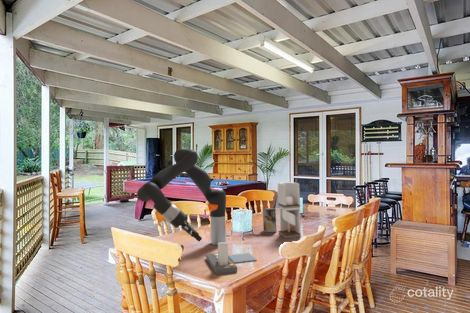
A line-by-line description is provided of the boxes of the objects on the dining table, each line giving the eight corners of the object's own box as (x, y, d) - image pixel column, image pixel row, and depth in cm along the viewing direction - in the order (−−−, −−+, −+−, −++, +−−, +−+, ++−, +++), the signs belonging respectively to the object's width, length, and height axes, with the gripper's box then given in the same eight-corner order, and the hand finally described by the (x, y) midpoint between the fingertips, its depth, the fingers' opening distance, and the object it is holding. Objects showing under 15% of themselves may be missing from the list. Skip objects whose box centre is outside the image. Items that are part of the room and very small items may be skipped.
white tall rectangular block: (218, 267, 158) (217, 242, 158) (226, 266, 159) (225, 241, 159) (220, 270, 154) (219, 244, 154) (228, 269, 155) (227, 243, 155)
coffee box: (276, 230, 232) (276, 207, 232) (276, 232, 226) (275, 209, 226) (263, 230, 234) (263, 207, 234) (263, 232, 227) (262, 209, 227)
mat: (228, 256, 175) (228, 255, 175) (249, 254, 178) (249, 252, 178) (234, 263, 163) (234, 262, 163) (256, 260, 166) (256, 259, 166)
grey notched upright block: (279, 233, 222) (277, 182, 222) (293, 232, 224) (292, 182, 224) (285, 237, 211) (284, 184, 211) (300, 236, 213) (299, 183, 213)
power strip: (205, 256, 175) (204, 251, 175) (222, 254, 177) (222, 249, 177) (216, 274, 148) (216, 268, 148) (237, 272, 151) (237, 265, 151)
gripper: (181, 211, 144) (207, 235, 147) (178, 207, 157) (201, 228, 161) (169, 224, 142) (196, 247, 145) (167, 218, 156) (191, 240, 159)
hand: (199, 237), depth 153 cm, fingers open, 8 cm apart
